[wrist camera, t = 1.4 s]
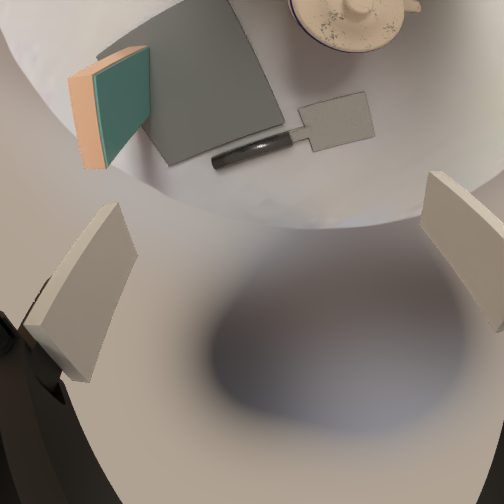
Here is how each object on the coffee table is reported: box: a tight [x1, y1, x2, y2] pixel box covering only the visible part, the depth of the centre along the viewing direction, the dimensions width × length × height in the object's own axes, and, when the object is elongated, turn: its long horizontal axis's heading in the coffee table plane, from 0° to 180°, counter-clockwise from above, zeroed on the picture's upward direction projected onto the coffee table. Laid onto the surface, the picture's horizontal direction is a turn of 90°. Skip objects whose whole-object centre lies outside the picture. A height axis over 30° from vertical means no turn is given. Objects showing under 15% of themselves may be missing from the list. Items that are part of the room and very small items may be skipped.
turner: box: [211, 92, 375, 170], centre depth 33 cm, size 20×6×2 cm, turn 113°
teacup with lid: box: [288, 0, 421, 53], centre depth 16 cm, size 12×9×12 cm
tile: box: [68, 45, 150, 169], centre depth 24 cm, size 3×9×12 cm, turn 173°
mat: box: [96, 0, 285, 166], centre depth 28 cm, size 18×16×1 cm
